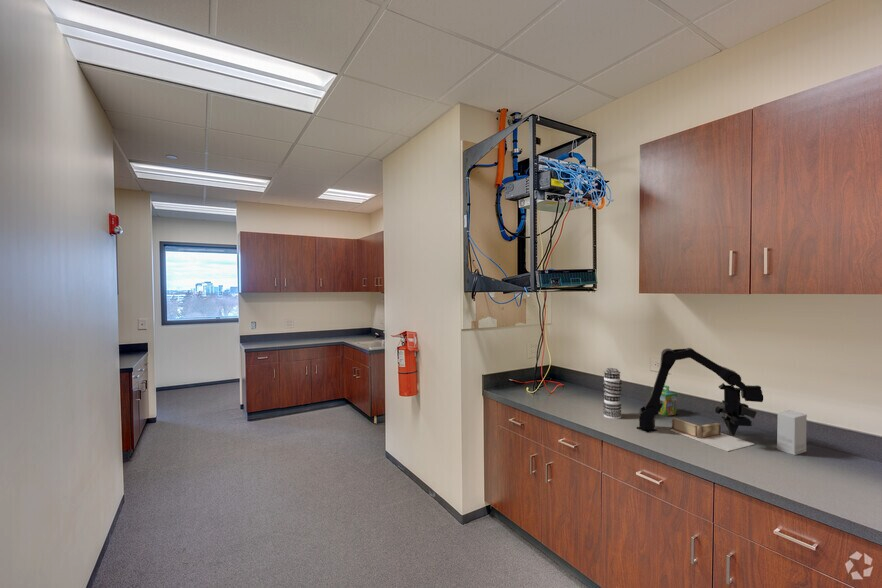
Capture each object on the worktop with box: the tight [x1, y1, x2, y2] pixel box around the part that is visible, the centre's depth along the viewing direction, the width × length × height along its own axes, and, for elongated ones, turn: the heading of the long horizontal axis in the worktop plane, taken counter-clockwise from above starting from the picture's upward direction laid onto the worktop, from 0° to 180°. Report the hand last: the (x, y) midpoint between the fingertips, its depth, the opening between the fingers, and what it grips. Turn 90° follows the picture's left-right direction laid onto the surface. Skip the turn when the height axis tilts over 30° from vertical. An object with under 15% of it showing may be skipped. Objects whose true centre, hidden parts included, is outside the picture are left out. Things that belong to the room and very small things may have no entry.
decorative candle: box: [602, 367, 623, 420], centre depth 205 cm, size 9×9×25 cm
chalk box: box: [650, 384, 678, 417], centre depth 210 cm, size 9×9×15 cm
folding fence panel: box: [701, 422, 722, 437], centre depth 177 cm, size 11×2×5 cm, turn 109°
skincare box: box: [776, 409, 808, 456], centre depth 160 cm, size 8×7×16 cm
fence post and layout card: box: [669, 417, 755, 452], centre depth 176 cm, size 18×27×6 cm, turn 22°
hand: (732, 435), depth 171 cm, fingers closed
